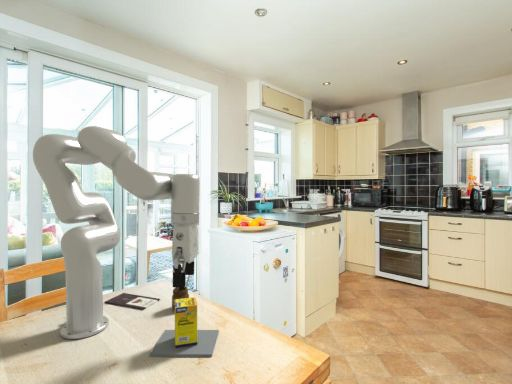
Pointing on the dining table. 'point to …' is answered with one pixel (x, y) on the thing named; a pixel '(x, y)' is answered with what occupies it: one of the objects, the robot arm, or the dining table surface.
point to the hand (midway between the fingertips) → (184, 280)
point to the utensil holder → (179, 293)
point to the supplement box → (185, 322)
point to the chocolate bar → (132, 301)
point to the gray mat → (202, 349)
